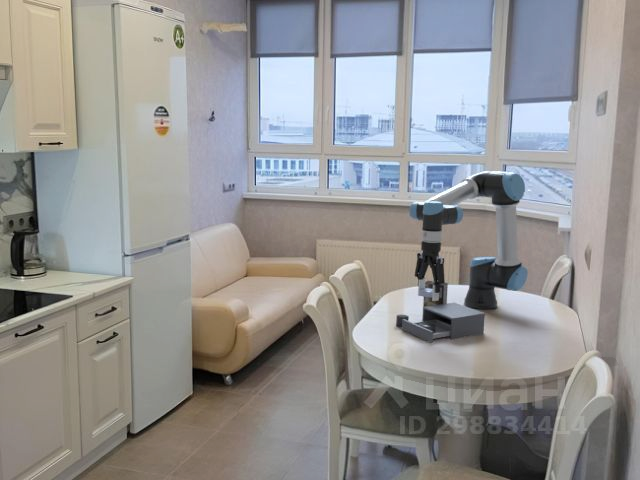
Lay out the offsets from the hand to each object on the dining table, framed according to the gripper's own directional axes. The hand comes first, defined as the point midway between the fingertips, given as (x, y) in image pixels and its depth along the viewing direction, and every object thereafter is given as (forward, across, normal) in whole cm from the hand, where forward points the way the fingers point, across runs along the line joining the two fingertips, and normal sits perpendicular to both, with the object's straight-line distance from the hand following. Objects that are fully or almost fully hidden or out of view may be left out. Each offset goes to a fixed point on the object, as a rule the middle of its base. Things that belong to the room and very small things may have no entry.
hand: (428, 297), depth 241 cm
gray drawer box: (+15, 0, +14) cm, 20 cm away
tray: (+15, 0, +3) cm, 15 cm away
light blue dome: (-1, 0, 0) cm, 1 cm away
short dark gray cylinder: (+15, -14, -1) cm, 21 cm away
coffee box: (+15, -16, +18) cm, 28 cm away
